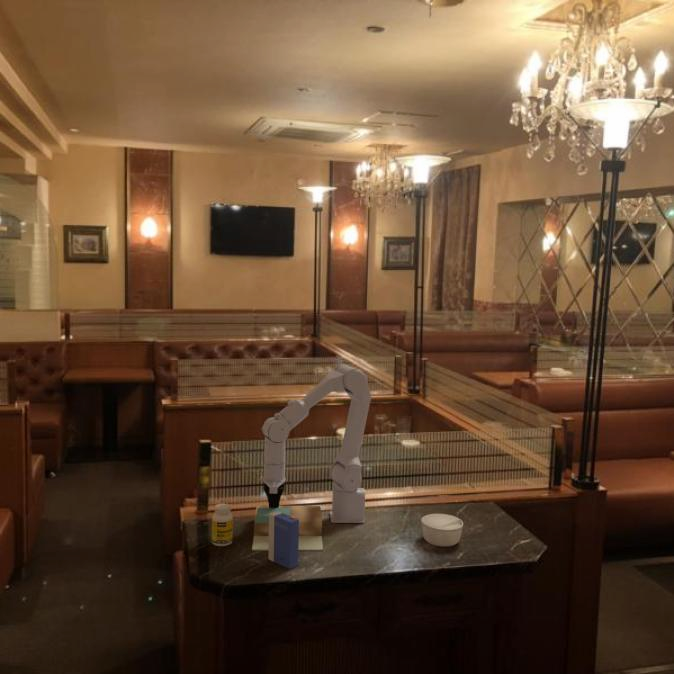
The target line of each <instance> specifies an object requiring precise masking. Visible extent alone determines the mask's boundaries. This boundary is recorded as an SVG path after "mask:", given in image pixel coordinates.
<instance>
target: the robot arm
mask: <svg viewBox="0 0 674 674" xmlns="http://www.w3.org/2000/svg"><path fill="white" fill-rule="evenodd" d="M368 381H369V378H368V377H367V376H366V374H365V373H364V371H363V370H361V369H360V368H357V367H356V368H355V367H353V366H351V365H348V364H347V363H342V364H338V365H337V366H335V368H333V369H332V370H329V372H328V373H327V374H326V376H325V377H324V378H323V379H322V380H321V381H319V382H318V384H316V385H315V386H314V387H313V388H312V389H311V390H310V391H309V392H308V393H307V394H306V395H305V396H304V397H302V398H301V399H294V400H289V401H288V402H287V403H286V404H287V405H286V406H285V407H284V408H283V409H281V411H279V412H276V413H275V414H274V416H272V417H268V418H267V419H266V420H265V421H264V422H263V425H262V427H261V433H263V436H264V447H263V448H264V450H263V452H264V453H263V458H264V462H263V463H264V464H263V476H260V477H259V481H260V482H264V484H263V490H264V493H265V495H266V498H267V502H268V503H267V504H268V506H269V508H279V506H280V501H281V497H282V494H283V493H284V491H285V488H286V487H285V486H286V483H285V482H286V440H287V439H288V437H289V435H290V432H291V430H293V429H294V428H295V427H296V426H298V424H301V422H302V421H303V420H304V419H306V418H307V417H308V416H309V415H310V414H309V413H310V409H311V408H313V407H314V406H316V404H318V403H320V402H321V401H322V400H323V399H324V398H326V397H327V396H329V395H330V394H331V393H335V392H336V393H337V392H346V394H347V395H348V397H349V398H350V405H349V409H348V414H347V420H346V423H345V429H344V434H343V438H342V442H341V448H340V452H339V453H338V454H337V455H336V456H335V459H334V462H333V464H332V465H331V466H330V470H329V477H330V479H331V480H332V481H333V484H332V497H331V500H332V501H331V503H332V504H331V510H330V511H329V516H330V523H331V524H333V523H334V524H338V523H340V524H364V523H365V514H366V492H365V491H366V490H365V488H364V487H360V486H361V485H362V481H363V477H362V472H361V471H362V463H361V461H360V454H361V453H360V452H361V447H362V443H363V438H364V433H365V428H366V423H367V420H368V419H367V418H368V413H369V409H370V405H371V401H372V395H371V391H370V387H369V383H368Z"/></svg>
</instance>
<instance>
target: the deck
mask: <svg viewBox="0 0 674 674" xmlns="http://www.w3.org/2000/svg"><path fill="white" fill-rule="evenodd" d="M257 508H269V505H256V508H255V514H254V520H253V522H254V524H253V537H254V536H269V523H256V515H257ZM279 508H291V516H294V517H296V519H299V536H322V535H323V534H322V533H323V517H322V516H323V515H322V509H321V508H322V507H321V505H279ZM322 537H323V536H322Z"/></svg>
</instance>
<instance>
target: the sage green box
mask: <svg viewBox="0 0 674 674" xmlns="http://www.w3.org/2000/svg"><path fill="white" fill-rule="evenodd" d="M256 508H257V507H256ZM277 511H278V512H281V513H283V514H286V515H288V516H291V508H257V515H256V523H269V514H270V513H274V512H277Z"/></svg>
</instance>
